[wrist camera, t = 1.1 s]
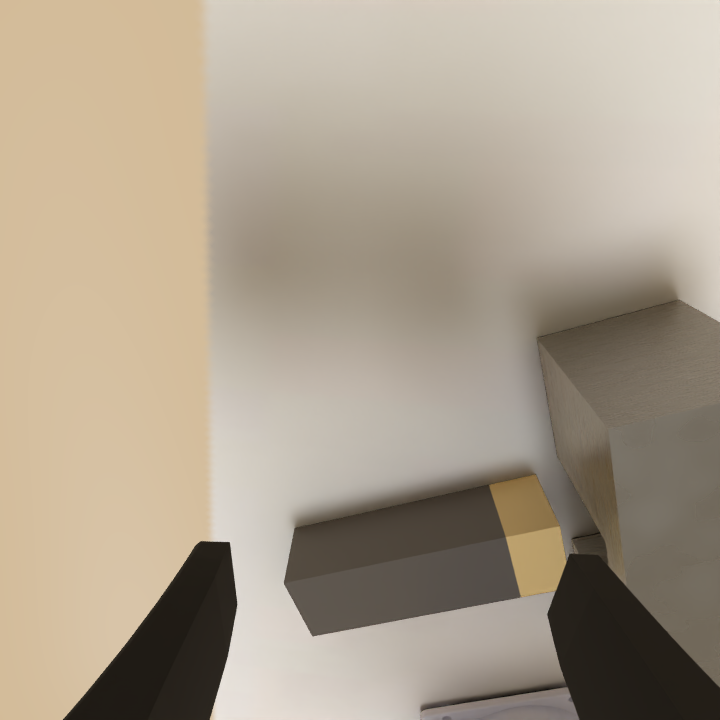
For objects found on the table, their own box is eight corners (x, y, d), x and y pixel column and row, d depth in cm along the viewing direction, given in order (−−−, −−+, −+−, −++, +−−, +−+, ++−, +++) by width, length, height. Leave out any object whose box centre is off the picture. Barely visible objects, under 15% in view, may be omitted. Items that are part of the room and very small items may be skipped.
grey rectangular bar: (319, 578, 24) (312, 636, 21) (294, 527, 22) (283, 583, 20) (546, 531, 22) (571, 587, 19) (535, 473, 21) (559, 526, 18)
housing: (585, 618, 24) (646, 758, 19) (536, 338, 18) (608, 429, 12) (690, 600, 24) (785, 740, 18) (679, 300, 17) (821, 379, 12)
